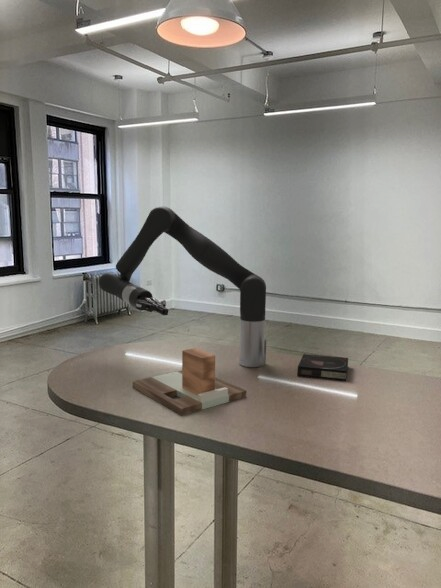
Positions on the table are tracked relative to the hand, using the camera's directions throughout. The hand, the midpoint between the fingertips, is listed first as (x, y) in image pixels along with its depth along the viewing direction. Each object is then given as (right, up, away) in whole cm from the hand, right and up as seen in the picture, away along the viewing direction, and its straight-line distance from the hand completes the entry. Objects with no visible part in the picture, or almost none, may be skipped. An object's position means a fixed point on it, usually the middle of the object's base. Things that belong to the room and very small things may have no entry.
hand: (166, 312), depth 164 cm
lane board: (+8, -25, -9) cm, 28 cm away
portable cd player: (+55, -22, +13) cm, 61 cm away
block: (+11, -23, -14) cm, 30 cm away
